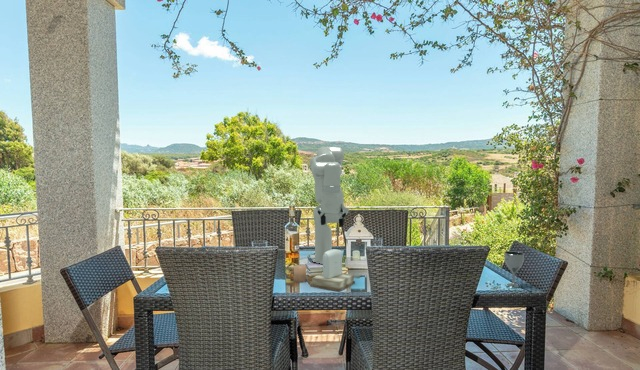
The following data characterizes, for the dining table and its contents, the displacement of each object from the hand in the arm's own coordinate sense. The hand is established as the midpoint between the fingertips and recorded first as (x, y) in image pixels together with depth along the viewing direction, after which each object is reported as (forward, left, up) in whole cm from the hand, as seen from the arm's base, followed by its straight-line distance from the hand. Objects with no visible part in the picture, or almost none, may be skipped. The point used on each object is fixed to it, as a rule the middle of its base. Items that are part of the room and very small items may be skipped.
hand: (332, 225), depth 199 cm
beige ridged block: (+5, +3, -27) cm, 27 cm away
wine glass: (-36, +74, -27) cm, 87 cm away
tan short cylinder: (+7, -14, -27) cm, 31 cm away
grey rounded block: (+5, +3, -23) cm, 23 cm away
